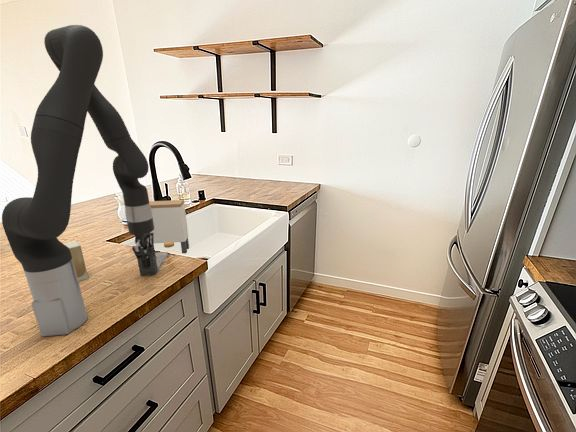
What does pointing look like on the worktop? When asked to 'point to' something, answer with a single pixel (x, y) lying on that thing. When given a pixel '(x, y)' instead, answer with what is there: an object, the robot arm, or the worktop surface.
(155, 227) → the cabinet
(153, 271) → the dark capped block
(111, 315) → the worktop surface
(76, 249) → the skincare box
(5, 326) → the worktop surface
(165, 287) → the worktop surface
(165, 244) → the token
